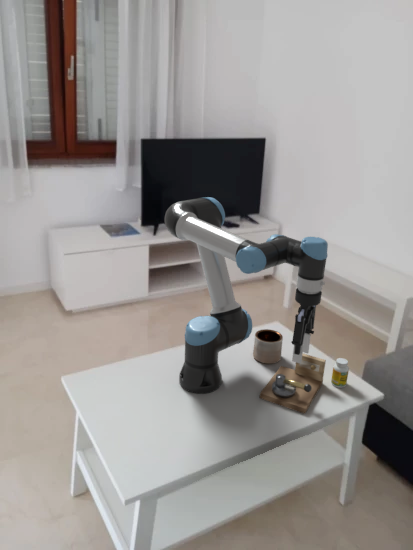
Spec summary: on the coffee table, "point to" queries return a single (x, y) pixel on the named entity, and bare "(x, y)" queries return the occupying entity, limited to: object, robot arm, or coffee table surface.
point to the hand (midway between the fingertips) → (300, 356)
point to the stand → (303, 373)
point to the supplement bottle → (340, 373)
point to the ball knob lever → (287, 387)
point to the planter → (267, 346)
